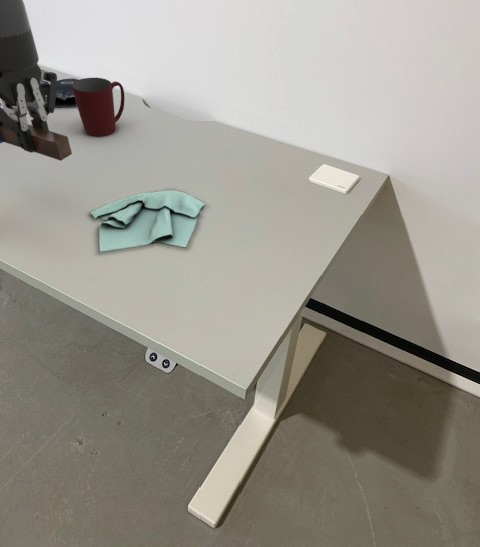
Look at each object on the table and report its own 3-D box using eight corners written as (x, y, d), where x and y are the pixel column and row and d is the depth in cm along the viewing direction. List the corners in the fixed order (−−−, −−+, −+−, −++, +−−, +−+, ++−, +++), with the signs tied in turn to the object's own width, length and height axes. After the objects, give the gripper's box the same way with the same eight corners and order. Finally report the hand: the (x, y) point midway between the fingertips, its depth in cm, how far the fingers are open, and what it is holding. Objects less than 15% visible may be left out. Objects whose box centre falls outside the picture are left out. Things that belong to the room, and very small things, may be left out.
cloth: (215, 201, 85) (215, 190, 83) (170, 270, 70) (169, 260, 68) (125, 180, 89) (123, 170, 87) (64, 242, 74) (60, 231, 72)
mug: (119, 116, 111) (112, 72, 103) (136, 129, 106) (130, 84, 98) (75, 127, 105) (65, 82, 97) (91, 141, 100) (81, 94, 93)
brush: (57, 163, 65) (50, 138, 62) (-27, 135, 70) (-37, 111, 67) (75, 152, 67) (69, 128, 65) (-8, 125, 72) (-16, 102, 70)
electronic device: (84, 112, 115) (88, 83, 124) (76, 93, 110) (81, 65, 119) (49, 116, 114) (56, 88, 123) (40, 97, 110) (48, 69, 119)
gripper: (18, 11, 61) (50, 124, 73) (-69, 33, 52) (-16, 159, 64) (59, 19, 59) (84, 135, 71) (-25, 44, 50) (21, 172, 62)
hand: (36, 146), depth 68 cm, fingers closed on brush, 2 cm apart
